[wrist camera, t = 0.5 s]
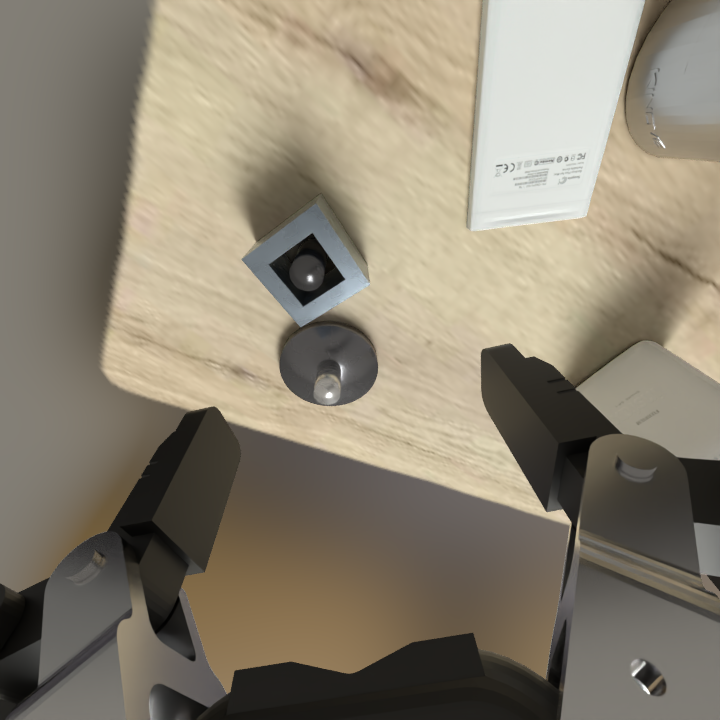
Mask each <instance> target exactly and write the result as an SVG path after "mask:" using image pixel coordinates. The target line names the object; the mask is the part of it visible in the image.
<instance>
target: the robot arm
mask: <svg viewBox="0 0 720 720" xmlns="http://www.w3.org/2000/svg"><path fill="white" fill-rule="evenodd" d="M626 120H627V124H628V128H629V132H630V134H631V136H632V138H633V139H634V141H635V143H636V144H637V145H638V146H639V147H640V148H641V149H642V150H644V151H645V152H646V153H648V154H651V155H654V156H656V157H662V158H675V159H688V160H700V161H713V162H720V0H672V1H671V2H670V3H669V5H668V6H667V7H666V8H665V9H664V11H663V12H662V13H661V15H660V17H659V18H658V20H657V21H656V23H655V24H654V26H653V27H652V29H651V31H650V32H649V34H648V35H647V37H646V39H645V42H644V44H643V46H642V48H641V50H640V52H639V54H638V56H637V58H636V61H635V64H634V67H633V70H632V73H631V76H630V79H629V85H628V91H627V97H626ZM481 391H482V398H483V402H484V405H485V407H486V410H487V412H488V413H489V415H490V417H491V419H492V420H493V422H494V424H495V425H496V427H497V429H498V430H499V432H500V434H501V436H502V437H503V439H504V441H505V442H506V444H507V446H508V447H509V449H510V451H511V453H512V454H513V456H514V458H515V459H516V461H517V463H518V464H519V466H520V468H521V469H522V471H523V473H524V475H525V476H526V478H527V480H528V481H529V483H530V485H531V486H532V488H533V490H534V492H535V493H536V495H537V497H538V498H539V500H540V502H541V503H542V505H543V507H544V509H545V510H546V512H550V511H555V510H561V509H563V510H564V511H565V513H566V514H567V516H568V518H569V519H570V521H571V524H570V528H569V535H568V542H567V549H566V556H565V563H564V569H563V576H562V583H561V590H560V598H559V603H558V610H557V616H556V621H555V626H554V630H553V636H552V642H551V648H550V654H549V661H548V667H547V674H546V680H545V679H544V678H543V677H541V676H539V675H538V674H537V673H535V672H533V671H532V670H530V669H529V668H527V667H526V666H524V665H522V664H520V663H518V662H516V661H514V660H512V659H510V658H508V657H505V656H502V655H499V654H496V653H493V652H490V651H484V650H480V649H478V648H477V645H476V641H475V638H474V634H473V633H469V634H462V635H456V636H450V637H444V638H437V639H431V640H425V641H418V642H413V643H410V644H409V645H407V646H405V647H403V648H401V649H399V650H397V651H395V652H394V653H392V654H390V655H388V656H386V657H384V658H382V659H380V660H379V661H377V662H375V663H373V664H371V665H369V666H367V667H366V668H364V669H362V670H360V671H358V672H355V673H352V674H346V673H340V672H336V671H332V670H327V669H322V668H318V667H313V666H309V665H303V664H299V663H295V662H287V663H280V664H273V665H268V666H261V667H255V668H248V669H242V670H236V671H235V672H234V677H233V682H232V687H231V692H230V693H228V694H226V692H225V690H224V688H223V686H222V684H221V682H220V681H219V679H218V678H217V677H216V675H215V674H214V673H213V671H212V670H211V668H210V666H209V664H208V661H207V659H206V656H205V652H204V650H203V646H202V643H201V640H200V636H199V633H198V630H197V627H196V624H195V621H194V617H193V614H192V611H191V608H190V605H189V602H188V598H187V595H186V593H185V591H184V590H183V589H182V588H181V585H182V583H183V580H184V577H185V576H186V575H192V574H197V573H203V572H205V569H206V566H207V563H208V560H209V557H210V554H211V551H212V547H213V544H214V541H215V538H216V535H217V532H218V528H219V525H220V522H221V519H222V516H223V513H224V509H225V506H226V503H227V500H228V497H229V493H230V490H231V487H232V484H233V481H234V478H235V475H236V471H237V468H238V465H239V462H240V457H241V456H240V455H241V452H240V445H239V442H238V440H237V439H236V437H235V435H234V434H233V432H232V431H231V429H230V427H229V425H228V424H227V422H226V420H225V419H224V417H223V416H222V414H221V412H220V411H219V410H218V409H217V408H216V407H208V408H204V409H199V410H194V411H190V412H187V413H186V414H185V416H184V417H183V419H182V420H181V422H180V424H179V426H178V428H177V429H176V431H175V432H173V433H172V434H171V435H170V436H169V437H168V438H167V439H166V440H165V441H164V442H163V443H162V444H161V445H160V446H159V447H158V449H157V451H156V452H155V454H154V455H153V457H152V459H151V460H150V462H149V463H150V465H148V466H147V467H146V469H145V470H144V472H143V474H142V475H141V476H142V478H141V479H139V480H138V482H137V484H136V485H135V487H134V488H133V490H132V491H131V493H130V495H129V496H128V498H127V500H126V501H125V503H124V505H123V506H122V508H121V510H120V511H119V513H118V514H117V516H116V518H115V520H114V521H113V523H112V524H111V526H110V528H109V529H108V531H107V532H104V533H100V534H97V535H95V536H93V537H91V538H89V539H88V540H86V541H84V542H83V543H81V544H80V545H79V546H77V547H76V548H75V549H74V550H72V551H71V552H70V553H69V554H68V555H67V556H66V557H65V558H64V559H63V560H62V561H61V563H60V564H59V565H58V566H57V568H56V569H55V571H54V572H53V573H52V575H51V577H50V578H48V579H45V580H43V581H41V582H39V583H37V584H35V585H33V586H31V587H29V588H27V589H25V590H23V591H21V592H19V593H17V592H15V591H13V590H11V589H9V588H7V587H6V586H4V585H2V584H0V720H720V599H719V598H718V596H717V595H716V594H714V593H713V592H710V591H707V590H706V589H705V588H704V586H703V584H702V580H701V575H700V574H706V575H707V576H708V577H709V578H710V580H711V581H712V582H713V583H714V585H715V586H716V587H717V588H718V589H719V591H720V460H707V459H693V458H681V457H676V456H675V455H674V454H672V453H671V452H670V451H668V450H667V449H665V448H664V447H662V446H660V445H659V444H657V443H654V442H652V441H650V440H647V439H644V438H641V437H638V436H633V435H627V434H622V433H621V432H620V431H619V430H618V429H617V428H616V427H615V426H614V425H613V424H612V423H611V422H610V421H609V420H608V419H607V418H606V417H605V416H604V415H603V414H602V413H601V412H600V411H599V410H598V409H597V408H596V407H595V406H594V405H593V404H591V403H590V402H589V401H588V400H587V399H586V398H585V397H584V396H583V395H582V394H581V393H580V392H579V391H576V388H575V387H574V386H573V385H572V384H571V383H570V382H569V381H568V380H565V377H564V376H563V375H562V374H561V373H560V372H559V371H558V370H557V369H556V368H555V367H554V366H552V365H551V364H549V363H546V362H544V361H542V360H540V359H538V358H536V357H529V358H525V357H524V356H523V355H522V354H521V353H520V352H519V351H518V350H517V349H516V348H515V347H514V346H513V345H512V344H510V343H509V344H504V345H500V346H495V347H491V348H486V349H483V350H482V352H481Z"/></svg>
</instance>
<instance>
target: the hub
mask: <svg viewBox="0 0 720 720" xmlns="http://www.w3.org/2000/svg"><path fill="white" fill-rule="evenodd" d="M280 373H281V376H282V379H283V381H284V383H285V384H286V385H287V387H288V388H289V389H290V390H291V391H292V392H293V393H294V394H295V395H297V396H298V397H300V398H302V399H303V400H305V401H308V402H310V403H314V404H317V405H323V406H337V405H343V404H347V403H350V402H353V401H355V400H357V399H359V398H360V397H362V396H363V395H365V394H366V393H367V392H368V391H369V390H370V388H371V387H372V386H373V384H374V382H375V380H376V377H377V373H378V363H377V355H376V351H375V349H374V347H373V345H372V343H371V342H370V340H369V339H368V338H367V337H366V336H365V335H364V334H363V333H362V332H360V331H359V330H357V329H356V328H354V327H352V326H349V325H347V324H344V323H339V322H332V321H323V322H316V323H312V324H309V325H306V326H304V327H302V328H300V329H299V330H297V331H296V332H294V333H293V334H292V335H291V336H290V337H289V339H288V340H287V341H286V343H285V345H284V348H283V350H282V354H281V357H280Z"/></svg>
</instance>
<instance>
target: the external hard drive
mask: <svg viewBox="0 0 720 720" xmlns="http://www.w3.org/2000/svg"><path fill="white" fill-rule="evenodd" d="M644 3H645V0H483V1H482V16H481V28H480V44H479V59H478V73H477V86H476V101H475V115H474V129H473V143H472V158H471V171H470V186H469V200H468V213H467V229H469V230H470V231H480V230H487V229H495V228H503V227H510V226H519V225H527V224H535V223H543V222H551V221H559V220H567V219H576V218H582V217H585V216H586V215H587V212H588V208H589V204H590V201H591V196H592V193H593V189H594V186H595V182H596V179H597V175H598V171H599V168H600V164H601V160H602V157H603V154H604V150H605V146H606V143H607V139H608V135H609V131H610V128H611V124H612V120H613V117H614V113H615V110H616V105H617V102H618V98H619V95H620V91H621V88H622V84H623V80H624V77H625V73H626V69H627V66H628V62H629V58H630V55H631V51H632V48H633V44H634V40H635V37H636V33H637V29H638V25H639V22H640V18H641V14H642V11H643V7H644Z"/></svg>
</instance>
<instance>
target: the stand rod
mask: <svg viewBox="0 0 720 720" xmlns="http://www.w3.org/2000/svg"><path fill="white" fill-rule="evenodd" d="M327 257H328V254H327V253H326V251H325V250H324V248H323V247H322V246H321V244H320V243H319V241H318V240H316V239H309V240H306V241H304V242H303V243H302V244H301V246H300V248H299V250H298V252H297V254H296V257H295V259H294V261H293V263H292V266H291V268H290V279H291V281H292V283H293V284H294V285H295V286H296V287H297V288H299V289H301V290H304V291H312V290H315V289H317V288H318V287H319V286H320V285H321V284H322V282H323V279H324V274H325V268H326V263H327Z"/></svg>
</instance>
